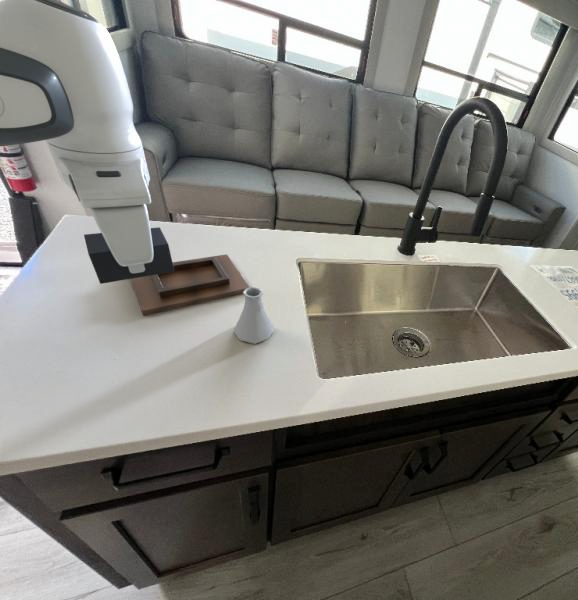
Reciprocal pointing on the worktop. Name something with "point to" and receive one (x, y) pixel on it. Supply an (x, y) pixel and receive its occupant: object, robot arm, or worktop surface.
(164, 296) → the back plate
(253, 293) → the flask
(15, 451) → the worktop surface
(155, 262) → the dark gray block
